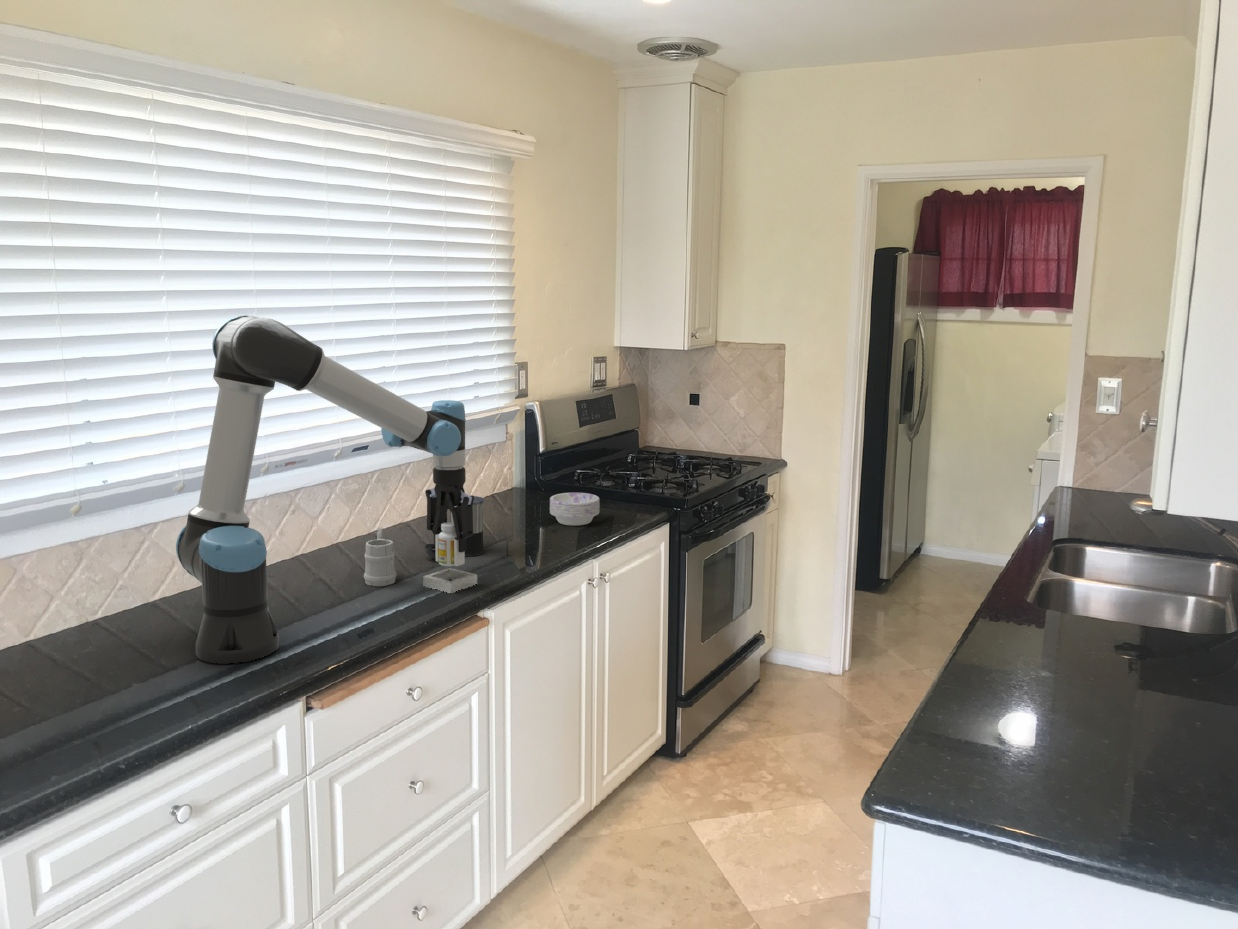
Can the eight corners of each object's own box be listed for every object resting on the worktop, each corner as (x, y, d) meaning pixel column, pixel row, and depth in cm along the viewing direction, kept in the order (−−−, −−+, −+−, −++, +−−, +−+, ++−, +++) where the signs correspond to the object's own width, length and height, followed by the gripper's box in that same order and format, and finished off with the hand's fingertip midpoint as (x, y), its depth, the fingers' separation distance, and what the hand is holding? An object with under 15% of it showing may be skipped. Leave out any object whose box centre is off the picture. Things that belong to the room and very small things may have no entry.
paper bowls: (542, 525, 289) (542, 500, 288) (559, 514, 304) (560, 490, 302) (590, 530, 285) (590, 504, 284) (605, 519, 299) (606, 494, 298)
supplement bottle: (462, 560, 232) (462, 521, 230) (460, 567, 226) (459, 527, 225) (440, 560, 232) (440, 521, 230) (437, 566, 226) (436, 526, 224)
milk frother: (488, 548, 263) (488, 496, 260) (473, 565, 247) (473, 509, 245) (437, 546, 264) (437, 493, 262) (420, 562, 249) (419, 506, 246)
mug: (363, 587, 227) (362, 538, 225) (365, 573, 238) (363, 526, 236) (396, 586, 229) (395, 537, 226) (396, 571, 240) (395, 525, 238)
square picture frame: (450, 593, 224) (450, 583, 223) (423, 586, 229) (423, 576, 228) (477, 584, 231) (477, 574, 231) (449, 577, 236) (449, 567, 236)
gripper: (489, 469, 223) (489, 565, 227) (432, 460, 233) (433, 552, 237) (467, 474, 217) (467, 573, 221) (409, 464, 227) (411, 559, 231)
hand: (450, 562), depth 229 cm, fingers closed on supplement bottle, 5 cm apart
